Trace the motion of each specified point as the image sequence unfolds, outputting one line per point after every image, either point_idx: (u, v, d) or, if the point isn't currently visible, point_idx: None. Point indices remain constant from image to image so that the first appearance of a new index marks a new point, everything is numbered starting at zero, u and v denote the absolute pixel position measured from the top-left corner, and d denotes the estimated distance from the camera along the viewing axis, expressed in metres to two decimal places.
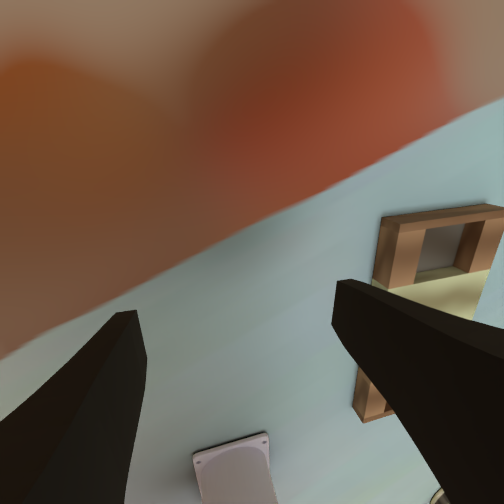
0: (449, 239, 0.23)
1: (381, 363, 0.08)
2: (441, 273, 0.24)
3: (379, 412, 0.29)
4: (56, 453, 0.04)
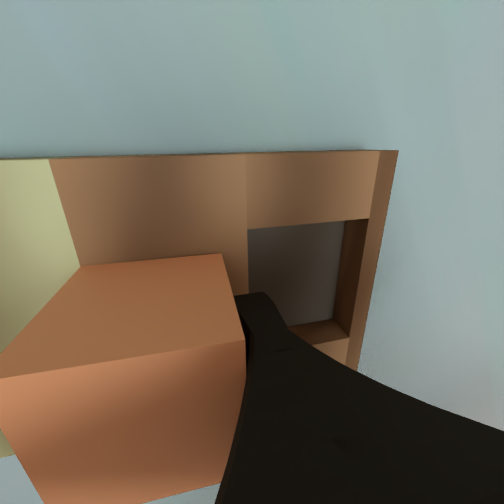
0: None
1: None
2: None
3: (343, 347, 0.13)
4: (327, 387, 0.04)
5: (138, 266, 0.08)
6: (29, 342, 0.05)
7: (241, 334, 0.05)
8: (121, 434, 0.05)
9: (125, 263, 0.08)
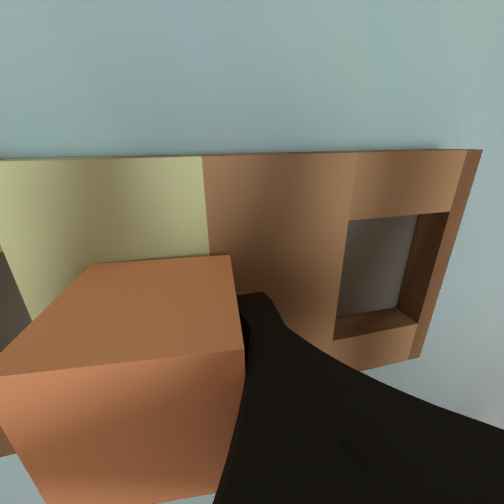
0: None
1: None
2: None
3: (411, 332, 0.14)
4: None
5: (145, 266, 0.08)
6: (31, 340, 0.05)
7: (240, 343, 0.05)
8: (117, 437, 0.05)
9: (133, 262, 0.08)
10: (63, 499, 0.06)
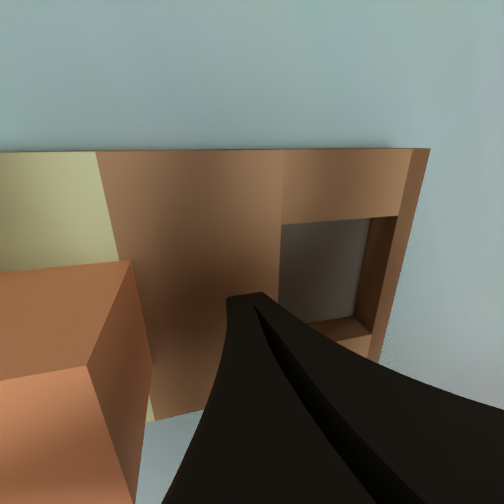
0: None
1: None
2: None
3: (365, 344, 0.13)
4: (293, 395, 0.04)
5: (28, 276, 0.07)
6: None
7: (86, 359, 0.05)
8: None
9: (15, 272, 0.08)
10: None
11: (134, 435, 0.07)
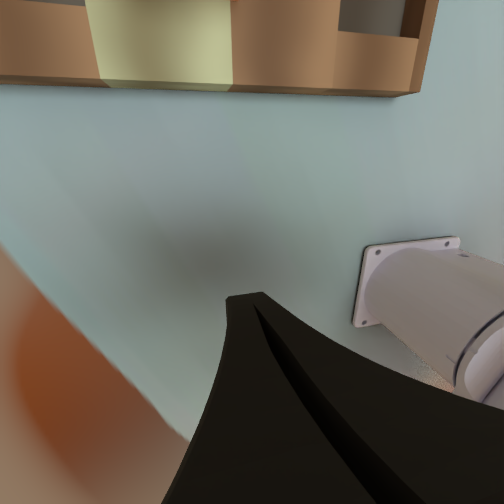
0: None
1: None
2: None
3: (412, 50, 0.14)
4: (293, 395, 0.04)
5: None
6: None
7: None
8: None
9: None
10: None
11: None
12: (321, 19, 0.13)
